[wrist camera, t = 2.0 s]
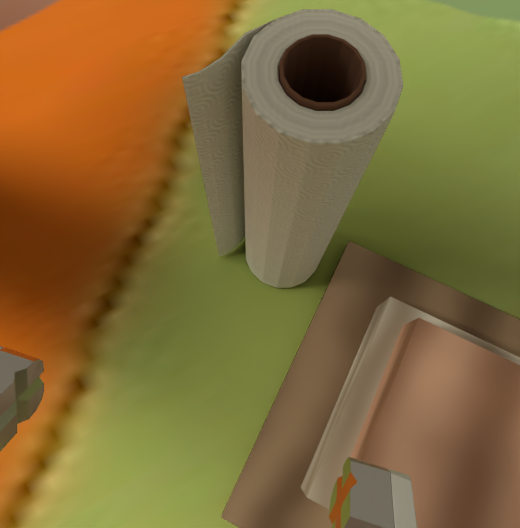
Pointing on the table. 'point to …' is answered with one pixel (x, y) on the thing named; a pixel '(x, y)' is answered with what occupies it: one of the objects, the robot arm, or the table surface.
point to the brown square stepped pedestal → (392, 404)
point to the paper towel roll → (290, 134)
